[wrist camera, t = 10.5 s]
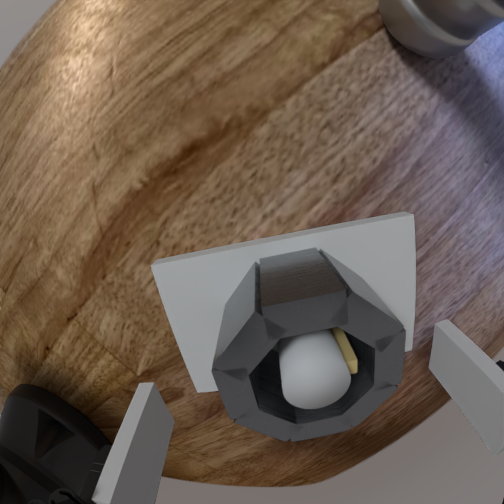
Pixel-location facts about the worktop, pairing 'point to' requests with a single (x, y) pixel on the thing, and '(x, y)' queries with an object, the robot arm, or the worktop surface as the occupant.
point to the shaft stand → (304, 345)
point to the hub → (295, 323)
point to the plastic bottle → (439, 23)
